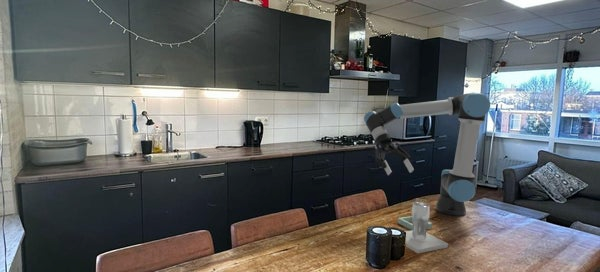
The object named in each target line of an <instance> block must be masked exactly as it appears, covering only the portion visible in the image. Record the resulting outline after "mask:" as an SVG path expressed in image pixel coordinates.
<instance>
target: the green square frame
mask: <svg viewBox="0 0 600 272" xmlns="http://www.w3.org/2000/svg"><path fill="white" fill-rule="evenodd" d="M397 224H399V225H402V226H403V227H404V228H407V229H409V231H411V230H413V223H412V215H411V216H410V215H408V216H402V217H398V218H397ZM431 229H433V222H431V221H430V220H429V221H428V225H427V229H426V230H431Z"/></svg>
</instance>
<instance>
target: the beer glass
mask: <svg viewBox="0 0 600 272" xmlns="http://www.w3.org/2000/svg"><path fill="white" fill-rule="evenodd" d="M430 209H431V208H430V204H429V203H427V202H425V201H414V202H413V203H412V208H411V216H412V222H411V224H413V232H412V236H411V238H412V239H414V240H416V241H426V240H427V237H426V233H427V230H428V229H427V225H428V221H429V222H430V215H431V214H430V212H431V211H430Z"/></svg>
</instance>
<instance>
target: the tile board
mask: <svg viewBox="0 0 600 272" xmlns="http://www.w3.org/2000/svg"><path fill="white" fill-rule="evenodd" d="M405 232H406V246H405V247H406V248H408V249H409V250H411V251H412V252H415V253H416V254H423V253H427V252H431V251H436V250H441V249H446V248H448V247H449V243H448V242H445V241H444V240H442V239H440V238H438V237H435V236H434V235H432V234H429V233H428V232H426V237H427V240H426V241H416V240H414V239H412V238H411V236H412V232H413V230H406V231H405Z"/></svg>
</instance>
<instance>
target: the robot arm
mask: <svg viewBox="0 0 600 272" xmlns="http://www.w3.org/2000/svg"><path fill="white" fill-rule="evenodd" d="M490 108H491V102H490V99H489V98H488V96H486V95H485V94H484V93H480V92H476V91H474V92H472V91H471V92H470V93H469V92H468V93H463V94H460V95H456V96H452V97H450V96H449V97H448V98H447V99H443V100H441V99H440V100H434V101H433V100H432V101H423V102H415V103H406V104H399V103H398V102H394V103H392V104H391V105H387V106H385V107H384V108H383V109H382V110H380V111H379V112H376V111H374V110H371V111H368V112H367V113H365V114H364V117H363V121H364V122H365V125H366V127H367V129H368V131H369V132H370V134H371V136H372V138H373V141H375V143H376V144H375V145H374V146H373V149H374V151H375V153H374V154H375V162H376V163H378V164H379V165H381V167H382V169H384V171H385V172H386V175H387V176H390V175H391V173H392V172H393V171H392V169H391V167H390V166H389V163H388V162H387V160H386V159H385V157H386V154H392V155H395V156H397V157H398V158H400V159H401V160H402V161H403V164H404V165H405V168H407V171H408V172H409V173H410V174H411V173H413V172H414V170H415V169H414V167H413V165H412V162H411V161H410V158H412V156H411V155H410V154H409V153H408V152H407V151H406V150H405V149H404V148H402V147H401V145H400V144H399V143H398V142H396V143H393V142H392V140H393V139H392V138H391V135H390V134H389V133H388V131H387V129H386V128H385V127H386V125H387V124H389V123H391V122H393V121H395V120H398V119H399V120H400V119H409V118H419V117H429V116H430V117H431V116H438V115H439V116H440V115H449V116H457V119H458V120H459V123H460V124H459V129H458V130H459V131H458V137H457V145H456V150H455V153H454V155H455V156H454V163H453V168H452V169H443V170H442V171H441V175H440V176H441V178H440V189H439V190H440V192H439V197H438V200H437V202H436V204H435V210H436V211H437V212H439V213H442V214H445V215H449V216H455V217H456V216H458V217H459V216H465V215H466V214H467V208H466V204H465V202H468V201H470V200H472V199H473V198H474V197H475V195H476V187H475V178H476V176H475V174H474V172H473V169H474V161H475V157H476V151H477V146H478V141H479V140H478V139H479V134H480V128H481V125H482V124H483V123H485V119H486V115H487V114H488V112H489V111H490Z"/></svg>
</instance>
